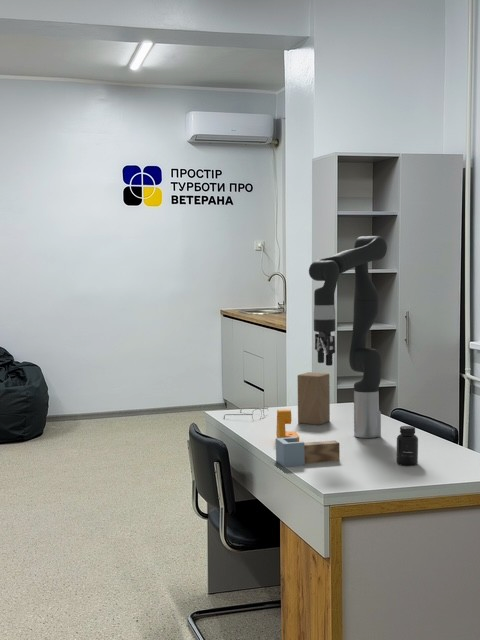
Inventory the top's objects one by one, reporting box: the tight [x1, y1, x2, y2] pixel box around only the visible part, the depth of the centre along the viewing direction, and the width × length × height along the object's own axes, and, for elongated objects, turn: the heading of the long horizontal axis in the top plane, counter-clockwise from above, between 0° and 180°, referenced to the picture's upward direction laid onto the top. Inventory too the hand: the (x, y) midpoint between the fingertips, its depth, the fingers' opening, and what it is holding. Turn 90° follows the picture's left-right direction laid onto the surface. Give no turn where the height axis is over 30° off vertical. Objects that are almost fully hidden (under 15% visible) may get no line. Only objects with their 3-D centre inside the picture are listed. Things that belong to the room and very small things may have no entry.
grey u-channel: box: [275, 437, 306, 468], centre depth 267 cm, size 7×9×8 cm
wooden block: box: [297, 371, 331, 426], centre depth 336 cm, size 10×10×20 cm
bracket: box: [276, 408, 300, 442], centre depth 300 cm, size 11×7×12 cm, turn 4°
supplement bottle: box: [396, 425, 419, 467], centre depth 264 cm, size 7×7×12 cm
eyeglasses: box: [223, 405, 269, 422], centre depth 351 cm, size 16×15×5 cm
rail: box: [304, 440, 341, 464], centre depth 269 cm, size 16×4×6 cm, turn 104°
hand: (324, 364), depth 285 cm, fingers open, 8 cm apart
